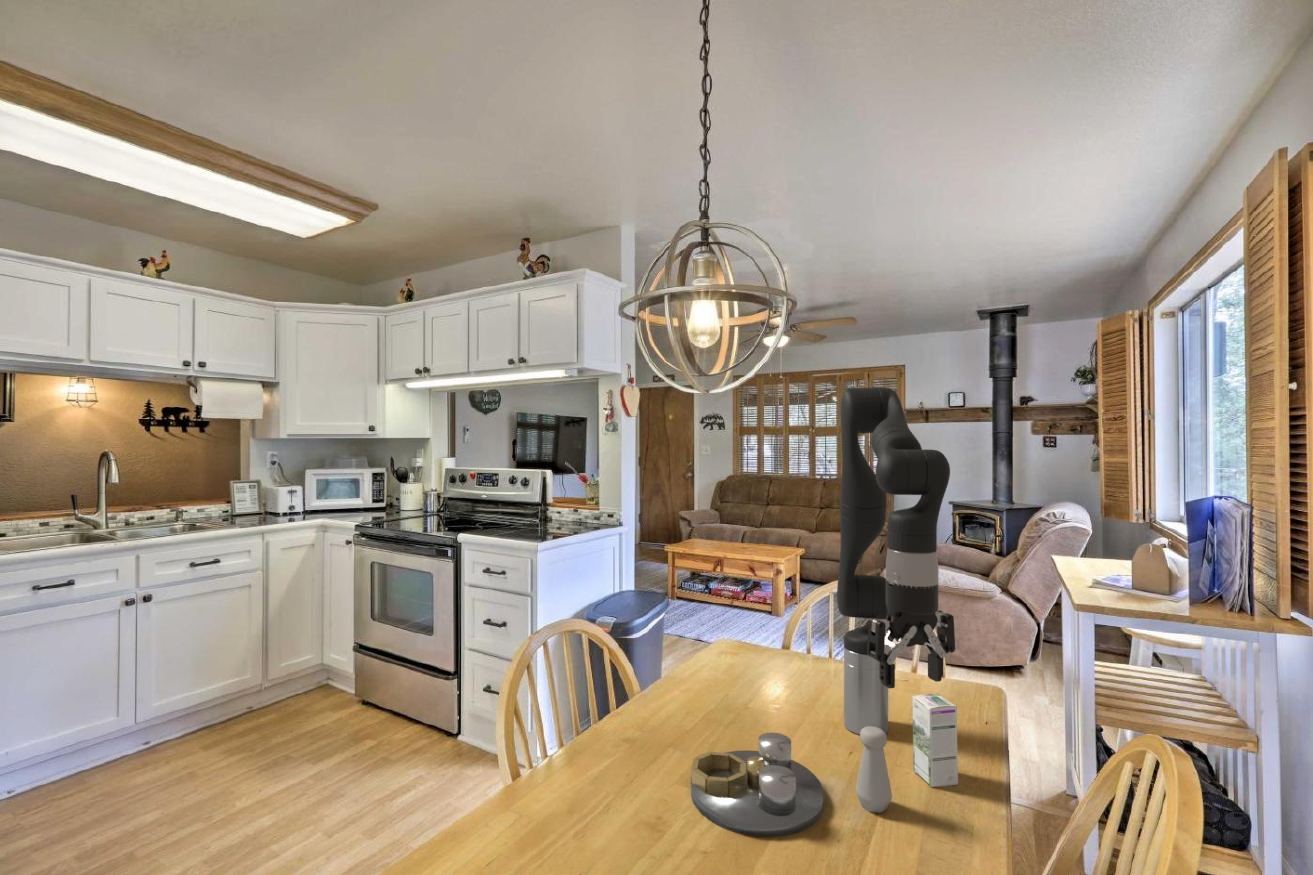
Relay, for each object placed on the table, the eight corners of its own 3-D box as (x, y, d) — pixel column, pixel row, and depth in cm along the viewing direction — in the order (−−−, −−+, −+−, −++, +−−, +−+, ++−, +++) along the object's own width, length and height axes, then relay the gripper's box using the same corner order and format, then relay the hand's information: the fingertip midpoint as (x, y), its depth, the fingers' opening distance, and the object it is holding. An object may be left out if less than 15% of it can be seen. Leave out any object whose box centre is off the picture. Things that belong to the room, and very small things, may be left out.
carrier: (697, 756, 120) (697, 720, 120) (815, 766, 116) (816, 729, 116) (683, 828, 97) (683, 784, 97) (831, 844, 93) (831, 798, 94)
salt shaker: (883, 795, 106) (883, 721, 107) (897, 815, 101) (897, 737, 101) (850, 796, 106) (850, 722, 106) (863, 816, 100) (863, 738, 101)
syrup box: (959, 785, 110) (959, 705, 110) (929, 788, 109) (929, 707, 109) (939, 768, 115) (939, 692, 116) (911, 771, 115) (911, 694, 115)
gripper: (932, 570, 99) (932, 669, 99) (857, 576, 95) (857, 679, 95) (968, 580, 91) (967, 687, 92) (888, 587, 87) (888, 699, 88)
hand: (911, 683), depth 93 cm, fingers open, 8 cm apart
